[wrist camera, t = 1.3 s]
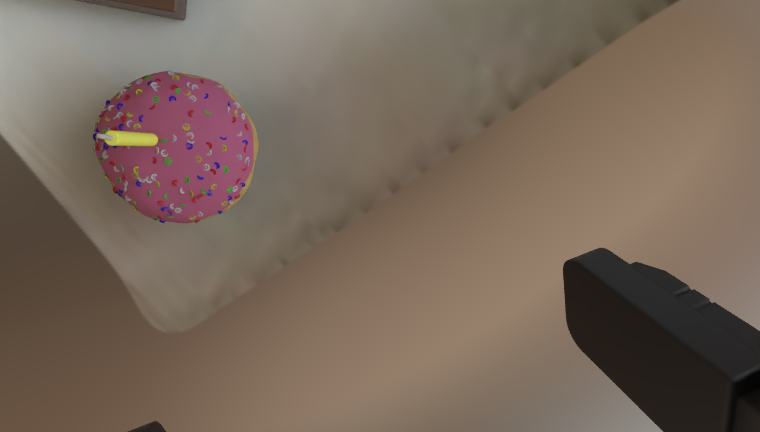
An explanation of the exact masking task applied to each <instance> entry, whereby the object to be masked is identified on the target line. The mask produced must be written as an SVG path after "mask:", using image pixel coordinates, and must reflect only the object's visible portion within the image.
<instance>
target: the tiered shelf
mask: <svg viewBox="0 0 760 432" xmlns="http://www.w3.org/2000/svg"><path fill="white" fill-rule="evenodd" d="M76 1H81V2H87V3H92V4H98V5H103V6H109V7H114V8H120V9H125V10H131V11H136V12H142V13H147V14H153V15H158V16H164V17H169V18H175V19H180V20H185V17H186V4H187V0H76Z"/></svg>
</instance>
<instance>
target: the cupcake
mask: <svg viewBox="0 0 760 432" xmlns="http://www.w3.org/2000/svg"><path fill="white" fill-rule="evenodd" d="M124 87H125V88H123V89H121V90H120V92H119V93H117V94H116V95H115V97H114V98H113V99H112V100H111V101H109V100H107V101H106V107H105V108H104V109H103V110H102V113H101V115H99V116H100V117H99V119H98V121H97V124H94V125H93V130H94V131H95V134H94V135H93V138H94V140H95V146H94V151H95V152H96V155H97V157H98V159H99V161H100V163H101V166H102V168H103V170H104V172H105V177H106V178H107V179H108V180H109V181H110V182H111V184H112V186H113V187H114V188H113V191H114V193H118V195H119V196H120V197H122V198H123V199H124V200H125V201H126V202H128V203H129V204H131V205H132V206H133V209H134V210H135V211H136V209H137V210H138V211H139V212H140V213H142V214H143V215H145V216H148V217H151V218H153V219H154V220H159V221H160V222H162V223H164V222H166V221H168V222H177V223H191V222H195V223H196V222H198V221H200V220H203V219H206V218H209V217H212V216H214V215H217V214H221V213H222V212H224V211H226V210H228V209H229V208H231V207H232V206H234V205H235V204H236V203H237V202H238V201H239V200H240V199H241V197H242V196H243V195H244V194H245V192H246V191H247V189H248V187H249V185H250V182H251V179H252V176H253V172H254V167H255V162H256V157H257V153H258V148H259V144H258V136H257V132H256V129H255V126H254V124H253V122H252V120H251V119H250V117H249V116H248V114H247V113H246V112H245V110H244V109H243V108H242V107H241V105H240V104H239V103H238V102H237V101H236V99H235V98H234V97H233V96H232V95H231V94H230V93H229V91H228V90H227V89H226V88H225V87H224V86H223V85H221V84H220V83H218V82H216V81H213V80H210V79H206V78H202V77H198V76H194V75H189V74H182V73H175V72H172V71H168V72H159V73H155V74H151V75H148V76H147V75H146V76H144V77H142V78H139V79H137V80H135V81H133V82H132V83H130V84H129V85H127V86H124ZM107 103H108V104H107ZM94 127H95V128H96V129H95V128H94ZM161 220H162V221H161Z"/></svg>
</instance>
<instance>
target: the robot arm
mask: <svg viewBox="0 0 760 432" xmlns="http://www.w3.org/2000/svg"><path fill="white" fill-rule="evenodd" d="M563 278H564V293H565V307H566V321H567V325H568V329H569V331H570V334H571V336H572V338H573V339H574V341H575V343H576V344H577V346H578V347H579V348H580V349H581V350H582V352H583V353H585V354H586V355H587V356H588V357H589V358H590V359H591V360H592V361H593V362H594V363H595V364H596V365H597V366H598V367H599V368H600V369H601V370H602V371H603V372H604V373H605V374H606V375H607V376H608V377H609V378H610V379H611V380H612V381H613V382H614V383H615V384H616V385H617V386H618V387H619V388H620V389H621V390H622V391H623V392H624V393H625V394H626V395H627V396H628V397H629V398H630V399H631V400H632V401H633V402H634V403H635V404H636V405H637V406H638V407H639V408H640V409H641V410H642V411H643V412H644V413H645V414H646V415H647V416H648V417H649V418H650V419H651V420H652V421H653V422H654V423H655V424H656V425H657V426H658V427H659V428H660V429H661V430H662V431H663V432H760V331H759V330H757V329H755V328H754V327H752V326H751V325H749V324H748V323H746V322H745V321H743V320H741V319H740V318H738V317H737V316H735V315H733V314H732V313H730V312H729V311H727V310H726V309H724V308H723V307H721V306H719V305H718V304H716V303H711V302H710V300H709V299H708V298H707V297H705V296H704V295H702V294H701V293H699V292H697V291H696V290H691V289H690V287H689V286H688V285H686V284H685V283H683V282H681V281H680V280H679V279H677V278H676V277H674V276H672V275H671V274H669V273H668V272H666V271H664V270H660V269H657V268H654V267H651V266H648V265H645V264H642V263H638V262H635V263H632V264H628V263H627V262H625V261H624V260H623V259H621V258H620V257H618V256H617V255H615V254H613V253H612V252H611V251H609V250H607V249H605V248H598V249H595V250H593V251H590V252H588V253H585V254H583V255H580V256H578V257H575V258H572V259H570V260H567V261H566V262H565V263H564V266H563ZM128 432H166V431H165V430H164V428H163V427H162V425H161V424H160V423H158V422H156V421H154V422H151V423H149V424H146V425H144V426H141V427H139V428H136V429H134V430H131V431H128Z"/></svg>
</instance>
